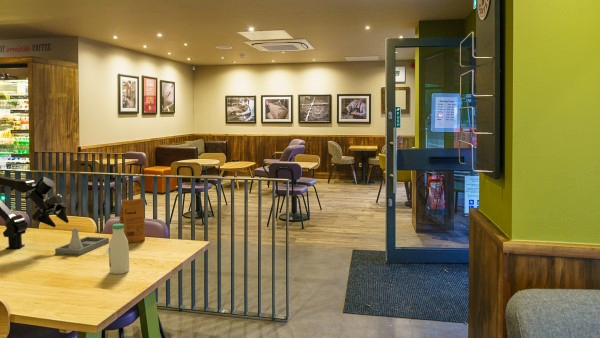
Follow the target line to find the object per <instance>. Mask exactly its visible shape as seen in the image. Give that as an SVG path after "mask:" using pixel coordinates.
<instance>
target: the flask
mask: <svg viewBox="0 0 600 338" xmlns="http://www.w3.org/2000/svg"><path fill="white" fill-rule="evenodd" d="M80 239H81V238H80V235H79V228H72V229H71V239H70V241H69V243H70V244H69V243H68V244H69V247H68V249H77V250H79V249H81V248H83V245H82V243H81V241H80Z"/></svg>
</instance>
